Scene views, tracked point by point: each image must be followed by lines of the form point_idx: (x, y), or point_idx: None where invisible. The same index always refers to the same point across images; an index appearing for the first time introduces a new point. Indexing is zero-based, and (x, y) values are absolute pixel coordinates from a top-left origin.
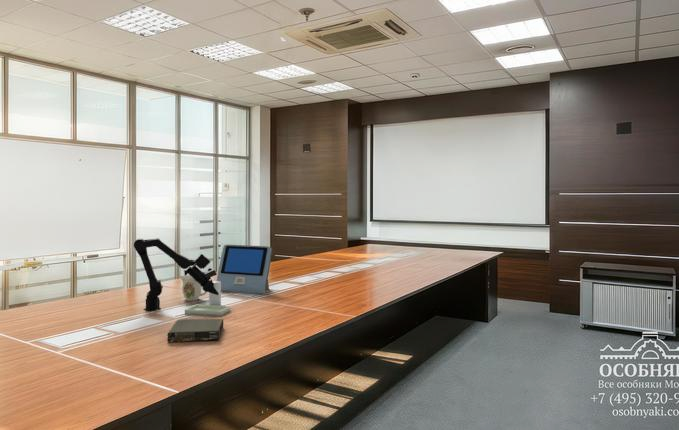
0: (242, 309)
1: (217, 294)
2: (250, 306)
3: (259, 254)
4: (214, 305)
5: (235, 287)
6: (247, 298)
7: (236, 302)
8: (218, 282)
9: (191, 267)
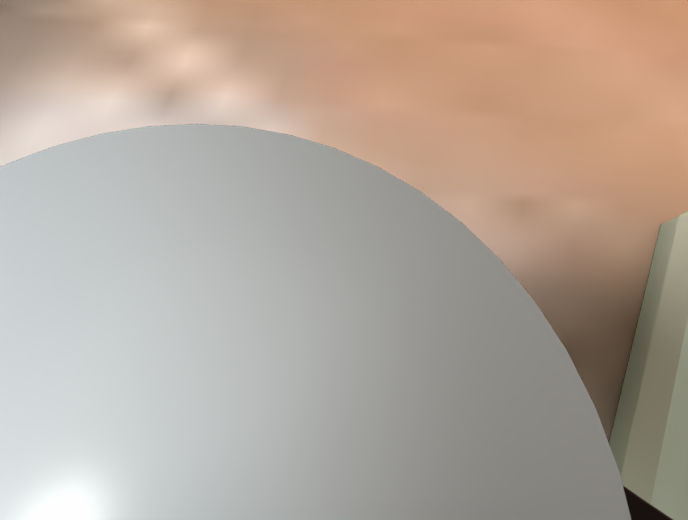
0: (591, 98)
1: None
2: (458, 21)
3: None
4: (670, 433)
5: None
6: (51, 21)
7: None
8: (299, 276)
9: None
